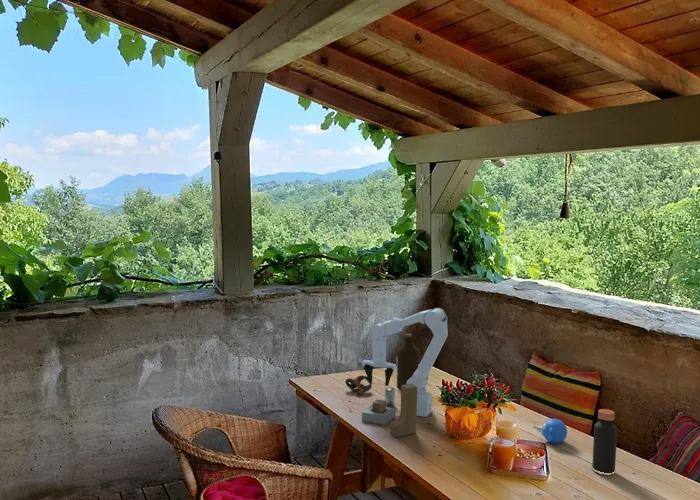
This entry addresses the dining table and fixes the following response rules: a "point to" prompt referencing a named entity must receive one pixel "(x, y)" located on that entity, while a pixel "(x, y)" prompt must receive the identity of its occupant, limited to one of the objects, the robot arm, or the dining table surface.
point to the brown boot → (406, 412)
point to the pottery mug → (358, 384)
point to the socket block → (378, 415)
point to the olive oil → (406, 361)
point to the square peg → (379, 406)
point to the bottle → (605, 442)
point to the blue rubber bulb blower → (553, 430)
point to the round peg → (389, 397)
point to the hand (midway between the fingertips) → (378, 384)
